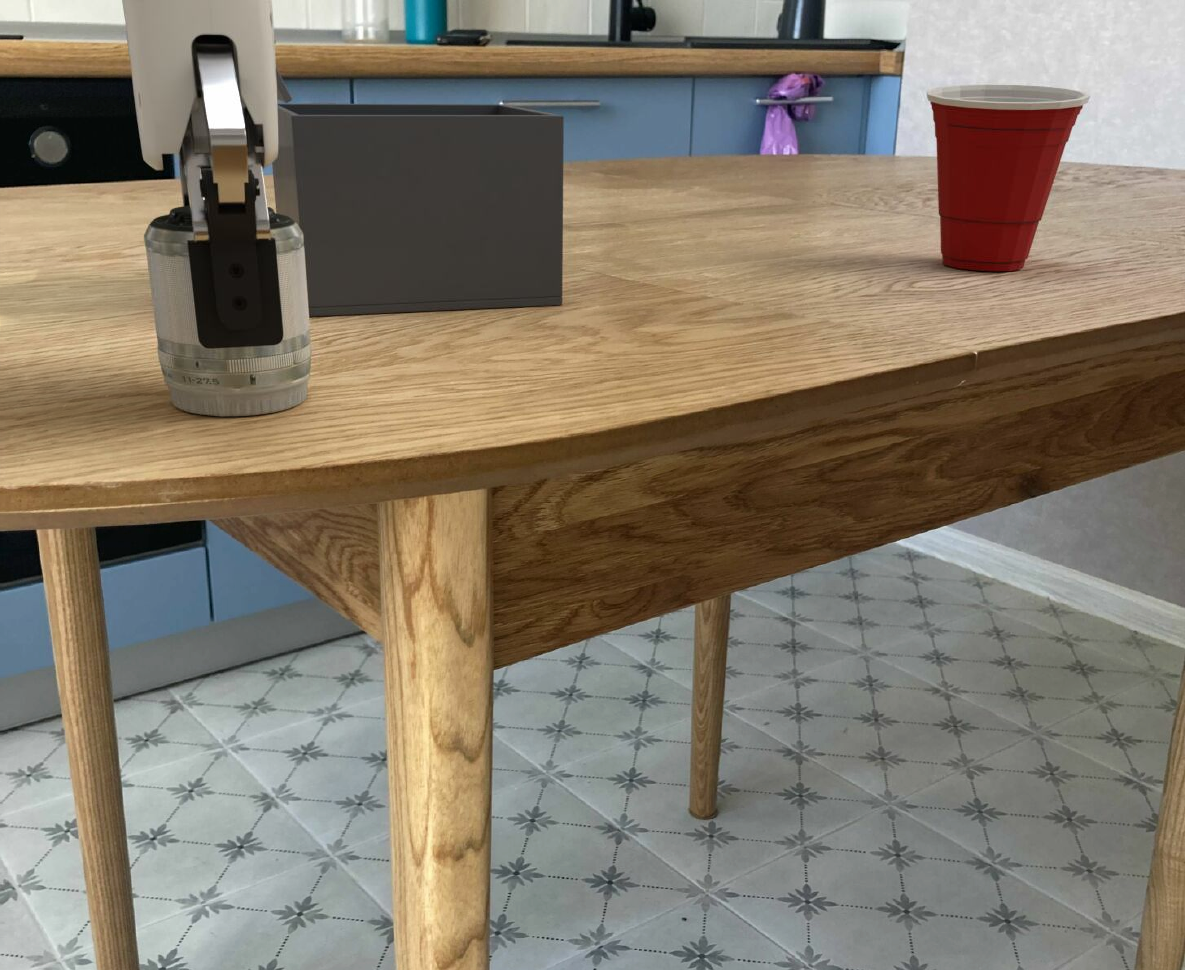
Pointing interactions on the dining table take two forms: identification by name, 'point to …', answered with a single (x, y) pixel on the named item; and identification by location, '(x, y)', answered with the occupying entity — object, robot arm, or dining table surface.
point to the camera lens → (236, 373)
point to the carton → (423, 205)
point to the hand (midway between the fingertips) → (233, 321)
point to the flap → (282, 89)
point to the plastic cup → (997, 167)
